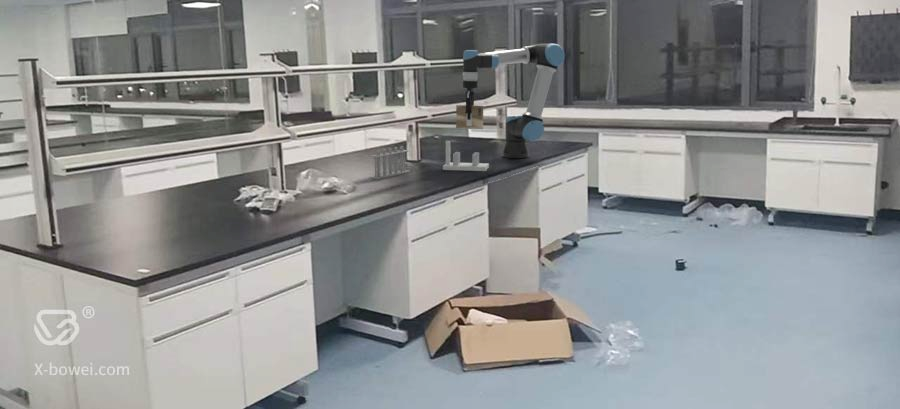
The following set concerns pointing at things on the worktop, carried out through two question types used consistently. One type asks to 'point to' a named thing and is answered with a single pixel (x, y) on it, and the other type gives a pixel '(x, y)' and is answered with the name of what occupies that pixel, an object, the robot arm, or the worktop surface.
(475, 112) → the oak door
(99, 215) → the worktop surface
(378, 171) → the test tube rack
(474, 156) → the white holder stand
